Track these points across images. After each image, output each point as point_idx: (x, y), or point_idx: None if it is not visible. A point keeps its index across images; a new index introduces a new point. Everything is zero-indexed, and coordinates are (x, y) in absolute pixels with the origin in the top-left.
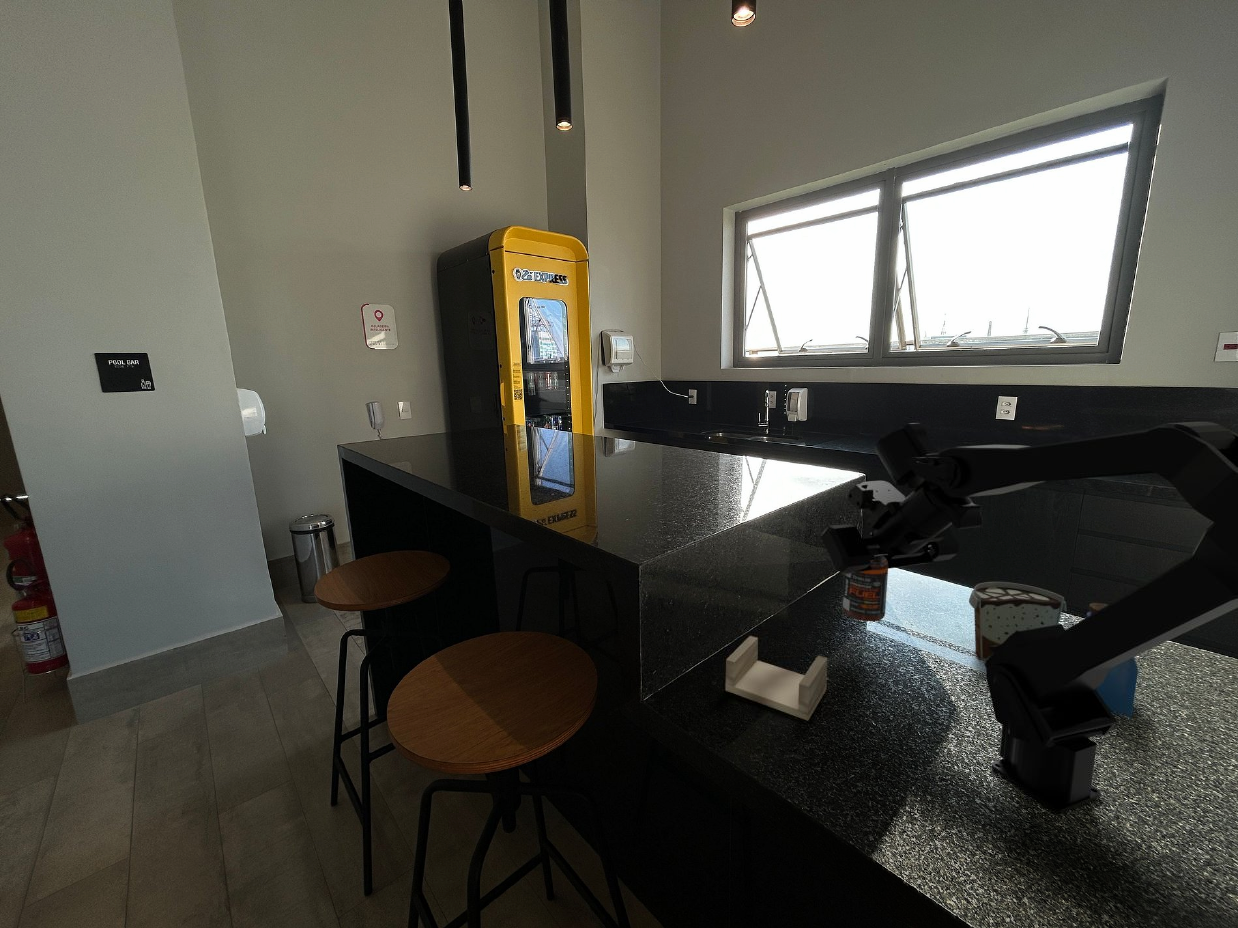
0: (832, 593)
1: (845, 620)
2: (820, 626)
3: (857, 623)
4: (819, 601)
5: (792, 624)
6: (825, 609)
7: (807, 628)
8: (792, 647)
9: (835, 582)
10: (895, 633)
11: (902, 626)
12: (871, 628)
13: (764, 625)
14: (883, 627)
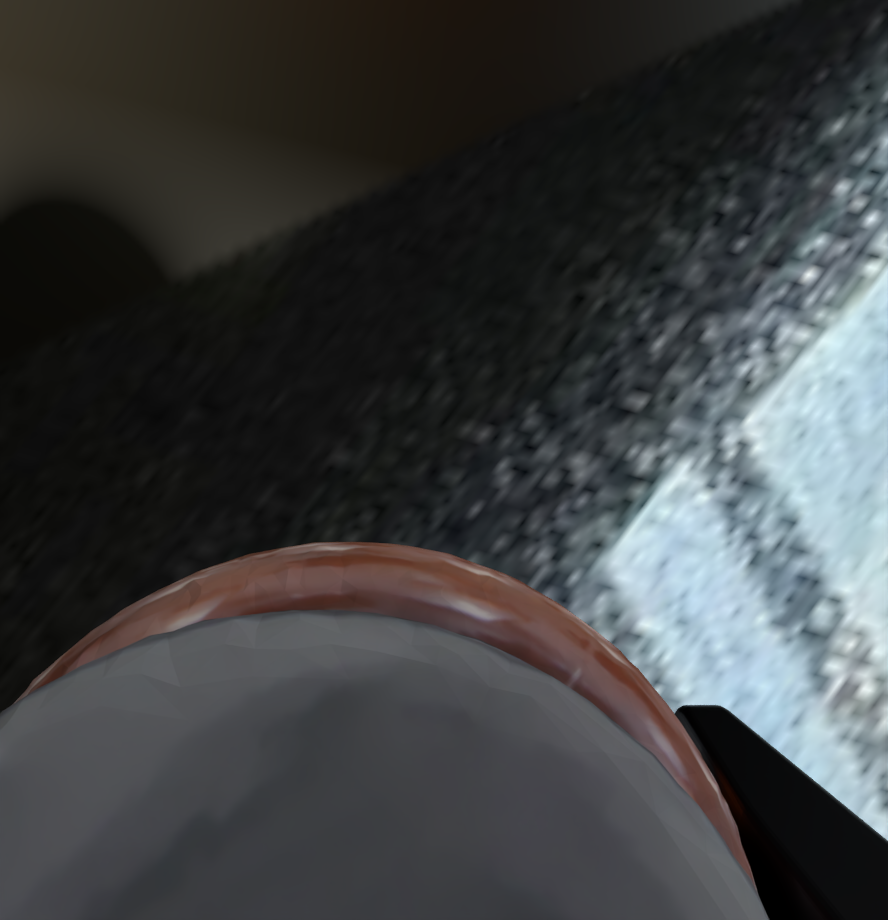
0: (688, 135)
1: (551, 430)
2: (358, 452)
3: (597, 481)
4: (554, 194)
5: (215, 385)
6: (525, 284)
7: (267, 451)
8: (17, 630)
9: (788, 33)
10: (742, 655)
11: (840, 590)
12: (639, 559)
13: (49, 350)
14: (719, 569)
